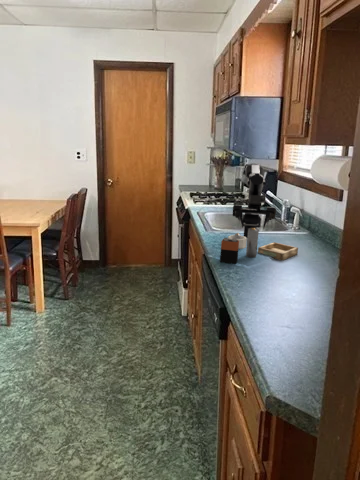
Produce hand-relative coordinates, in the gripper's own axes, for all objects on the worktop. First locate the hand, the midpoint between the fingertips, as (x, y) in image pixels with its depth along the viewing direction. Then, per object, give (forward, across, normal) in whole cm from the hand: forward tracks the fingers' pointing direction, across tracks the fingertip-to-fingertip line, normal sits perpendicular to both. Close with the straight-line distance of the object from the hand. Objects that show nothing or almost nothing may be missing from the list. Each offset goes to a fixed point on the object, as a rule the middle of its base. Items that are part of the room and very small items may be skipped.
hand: (253, 227), depth 177 cm
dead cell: (+2, -6, +14) cm, 15 cm away
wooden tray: (+6, +12, +11) cm, 17 cm away
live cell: (+12, 0, +5) cm, 13 cm away
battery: (+18, -9, -1) cm, 21 cm away
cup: (+2, -6, +14) cm, 16 cm away
